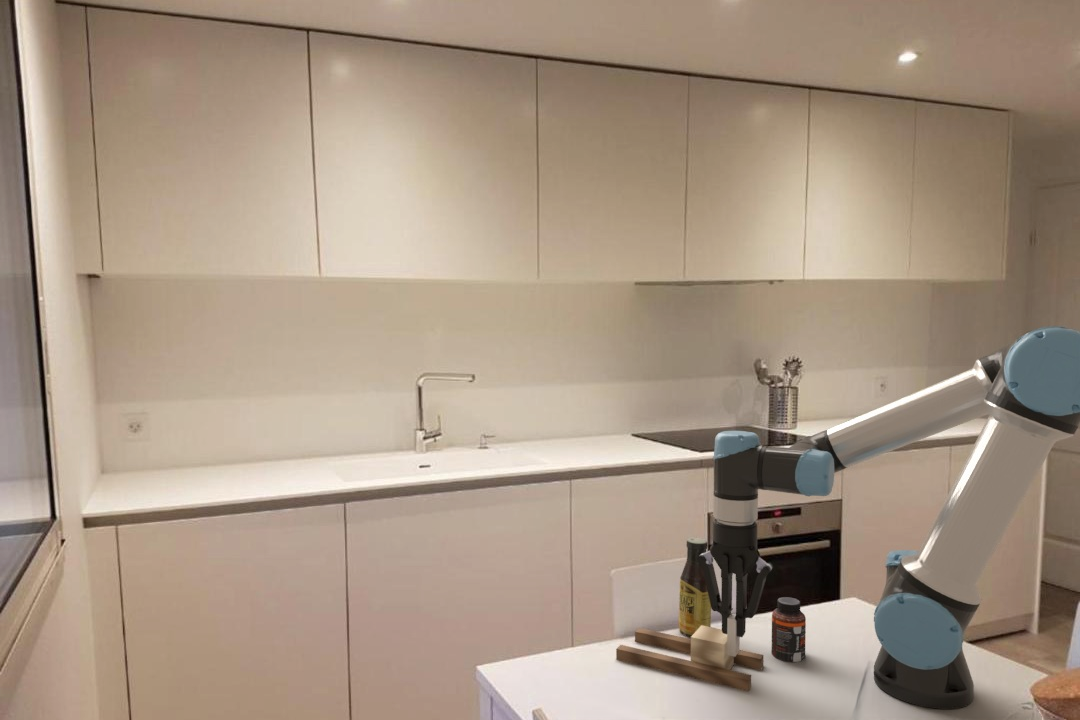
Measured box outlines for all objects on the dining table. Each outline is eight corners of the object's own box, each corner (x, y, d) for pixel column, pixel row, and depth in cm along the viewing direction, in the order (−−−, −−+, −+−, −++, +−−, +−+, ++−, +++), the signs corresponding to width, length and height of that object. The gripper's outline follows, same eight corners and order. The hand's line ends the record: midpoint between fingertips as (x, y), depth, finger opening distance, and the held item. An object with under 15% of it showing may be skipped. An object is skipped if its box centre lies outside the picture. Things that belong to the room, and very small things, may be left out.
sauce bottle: (673, 633, 147) (673, 536, 146) (700, 629, 149) (701, 533, 148) (689, 646, 141) (689, 545, 140) (717, 642, 142) (718, 542, 142)
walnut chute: (764, 669, 131) (764, 653, 131) (747, 699, 120) (747, 681, 120) (640, 641, 143) (640, 626, 143) (615, 666, 132) (615, 649, 132)
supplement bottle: (807, 669, 131) (808, 607, 130) (773, 666, 132) (773, 605, 132) (802, 655, 137) (803, 595, 136) (769, 652, 138) (770, 593, 137)
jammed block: (733, 664, 130) (733, 631, 130) (724, 678, 125) (724, 644, 125) (701, 657, 133) (701, 625, 133) (690, 670, 128) (690, 637, 128)
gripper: (778, 520, 126) (775, 652, 127) (705, 510, 133) (703, 637, 134) (768, 530, 120) (765, 670, 121) (692, 519, 126) (690, 652, 127)
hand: (733, 652), depth 127 cm, fingers closed
